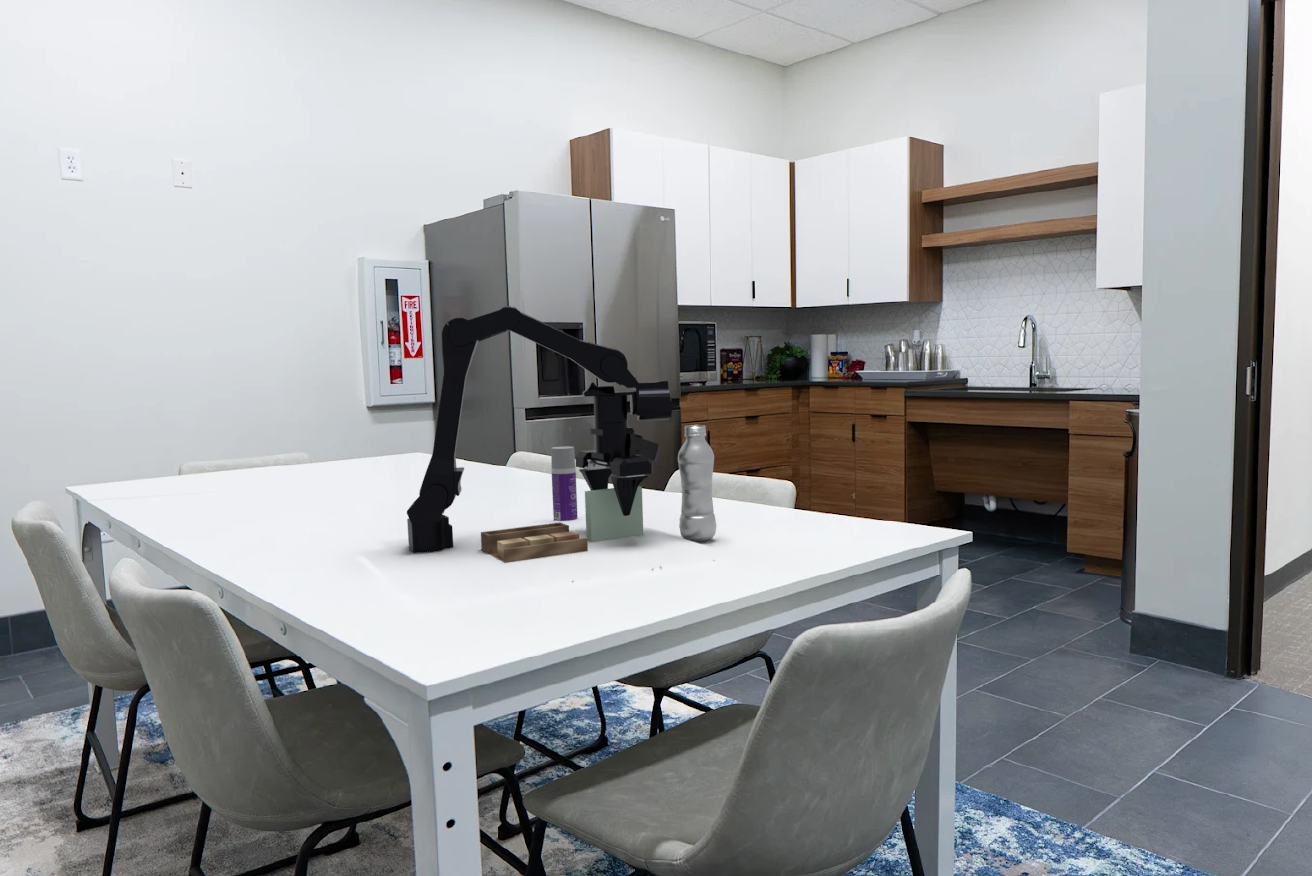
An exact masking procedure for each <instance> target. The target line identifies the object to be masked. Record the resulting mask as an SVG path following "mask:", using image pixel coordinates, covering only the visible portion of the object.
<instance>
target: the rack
mask: <svg viewBox="0 0 1312 876" xmlns="http://www.w3.org/2000/svg"><path fill="white" fill-rule="evenodd" d="M563 532H570V525H568V524H566V523H563V522H561V521H558V522H554V523H553V522H551V523H545V524H538V525H537V524H536V525H529V526H520V527H511V528H504V529H496V530H488V531H481V532H480V542H481V543H480V544H481V546H480V547H481V551H483V552H485V553H486V554H488V555H490V556H492V557H494V558H496V559H497V560H499V561H502V562H504V563H505V564H507V563H514V562H522V561H528V560H535V559H543V558H548V557H556V556H564V555H569V554H578V553H583V552H584V553H585V552H589V550H588V549H589V548H588V547H589V546H588V541H587V537H585V538H579V539H575V540H568V541H560V542H553V543H546V544H538V545H531V546H523V547H516V548H509V549H504V559H502V558H500V557H498V548H497V541H501V540H509V539H516V538H522V539H524V537H532V536H539V535H549V536H550V534H555V533H563Z"/></svg>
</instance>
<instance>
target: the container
mask: <svg viewBox="0 0 1312 876" xmlns="http://www.w3.org/2000/svg"><path fill="white" fill-rule="evenodd" d="M550 450H551V451H550V454H551V455H550V457H551V489H552V491H551V492H552V513H553V514H552V515H553V521H554V522H555V521H557V522H564V521H565V522H567V521H568V522H570V521H571V522H572V521H575V520H578V518H579V517H578V495H577V473H576V455H575V447H574V446H572V445H571V446H567V445H566V446H555V447H554V446H553V447H551V448H550Z"/></svg>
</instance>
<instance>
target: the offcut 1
mask: <svg viewBox="0 0 1312 876" xmlns="http://www.w3.org/2000/svg"><path fill="white" fill-rule="evenodd" d="M523 546H528V541H527V540H524V539H522V538H516V539H509V540H501V541H497V548H498V557H500V558H502V559H504V549H509V548H516V547H523Z"/></svg>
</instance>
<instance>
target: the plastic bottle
mask: <svg viewBox="0 0 1312 876" xmlns="http://www.w3.org/2000/svg"><path fill="white" fill-rule="evenodd" d="M706 432H707V430H706V425H705V424H694V425H693V424H690V425H685V426H684V434H683V435H684V437H685V440H684V442H683V444H682V445H681V447H680V449H679V451H678V454H677V463H678V469H679V470H678V471H679V474H680V475H679V476H680V484H681V486H680V487H681V508H680V509H681V511H680V517H679V526H678V529H679V532H680V535H681V537H682V538H683V539H684V540H686V541H692V542H697V543H698V542H703V541H708V540H711V539H713V538H714V537H715V535H716V532H717V520H716V516H715V513H714V512H715V511H714V503H713V502H714V501H713V475H714V474H713V473H714V465H715V454H714V452H713V451H714V450H713V449H712V447H711V446H710V445H709V443H708V441H707V440H706V438H705V437H707V433H706Z"/></svg>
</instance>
